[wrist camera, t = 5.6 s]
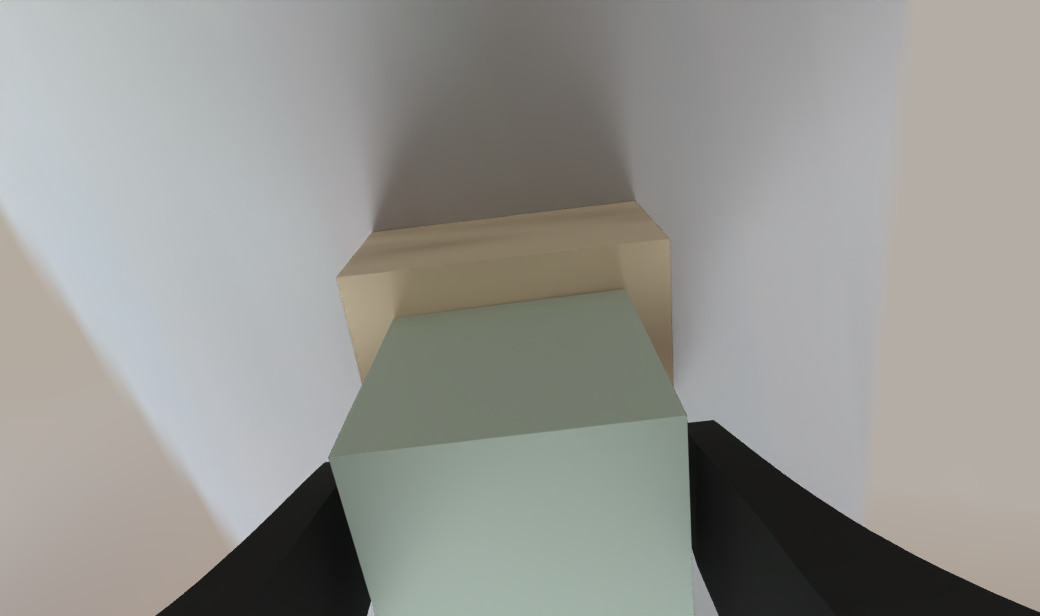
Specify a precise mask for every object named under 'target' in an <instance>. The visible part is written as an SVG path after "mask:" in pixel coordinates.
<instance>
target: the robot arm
mask: <svg viewBox="0 0 1040 616" xmlns="http://www.w3.org/2000/svg"><path fill="white" fill-rule="evenodd" d="M687 429H688V458H689V488H690V517H691V546H692V550H693V553H694V556H695V560H696V563H697V566H698V568H699V571H700V573H701V575H702V578H703V580H704V582H705V585H706V587H707V589H708V592H709V594H710V596H711V599H712V601H713V603H714V606H715V608H716V610H717V612H718V615H719V616H1040V612H1037V611H1035V610H1032V609H1030V608H1028V607H1025V606H1023V605H1021V604H1018V603H1016V602H1014V601H1011V600H1008V599H1007V598H1004V597H1002V596H1000V595H997V594H995V593H993V592H990V591H988V590H986V589H984V588H982V587H979V586H977V585H975V584H973V583H971V582H969V581H966V580H965V579H963V578H960V577H958V576H956V575H954V574H952V573H950V572H948V571H945V570H943V569H941V568H939V567H937V566H935V565H933V564H931V563H929V562H927V561H925V560H923V559H921V558H919V557H917V556H915V555H913V554H912V553H910V552H908V551H906V550H904V549H902V548H901V547H899V546H897V545H895V544H893V543H892V542H890V541H888V540H886V539H884V538H883V537H881V536H879V535H877V534H875V533H873V532H871V531H870V530H868V529H867V528H865V527H863V526H862V525H860V524H858V523H857V522H855V521H853V520H852V519H850V518H848V517H847V516H845V515H844V514H842V513H841V512H839V511H837V510H836V509H834V508H833V507H831V506H830V505H828V504H827V503H825V502H824V501H822V500H820V499H819V498H817V497H816V496H814V495H813V494H811V493H810V492H809V491H807V490H806V489H804V488H803V487H801V486H800V485H798V484H797V483H796V482H794V481H793V480H791V479H790V478H789V477H787V476H786V475H784V474H783V473H782V472H780V471H779V470H778V469H776V468H775V467H774V466H772V465H771V464H770V463H768V462H767V461H766V460H764V459H763V458H762V457H760V456H759V455H758V454H757V453H755V452H754V451H753V450H751V449H750V448H749V447H747V446H746V445H745V444H744V443H742V442H741V441H740V440H739V439H737V438H736V437H735V436H733V435H732V434H731V433H730V432H728V431H727V430H726V429H725V428H723V427H722V426H721V425H719V424H718V423H717V422H715V421H714V420H710V421H701V422H692V423H687ZM370 603H371V599H370V595H369V592H368V589H367V585H366V582H365V579H364V575H363V572H362V569H361V565H360V562H359V558H358V555H357V552H356V548H355V545H354V542H353V538H352V535H351V532H350V528H349V525H348V522H347V518H346V515H345V512H344V508H343V505H342V502H341V498H340V495H339V492H338V488H337V485H336V481H335V478H334V475H333V471H332V468H331V465H330V462H325V463H324V464H322V465H321V466H320V467H319V468H318V469H317V470H316V471H315V472H314V473H313V474H312V475H311V476H310V477H308V478H307V479H306V480H305V481H304V482H303V483H302V484H301V485H300V486H299V487H298V488H297V489H296V490H295V491H294V492H293V493H292V494H291V495H290V496H289V497H288V498H287V499H286V500H285V501H284V502H283V503H282V504H281V505H280V506H279V507H278V508H277V509H276V510H275V511H274V512H273V513H272V514H271V515H270V516H269V517H268V518H267V519H266V520H265V521H264V522H263V523H262V524H261V525H260V526H259V527H258V528H257V529H256V530H255V531H254V532H252V533H251V534H250V535H249V536H248V537H247V538H246V539H245V540H244V541H243V542H242V543H241V544H240V545H238V546H237V547H236V548H235V549H234V550H233V551H232V552H231V553H230V554H228V555H227V556H226V557H225V558H224V559H223V560H222V561H221V562H220V563H218V564H217V565H216V566H215V567H214V568H213V569H212V570H211V571H210V572H208V573H207V574H206V575H205V576H204V577H203V578H202V579H201V580H199V581H198V582H197V583H196V584H195V585H194V586H192V587H191V588H190V589H189V590H187V591H186V592H185V593H184V594H183V595H181V596H180V597H179V598H178V599H176V600H175V601H174V602H173V603H171V604H170V605H169V606H168V607H166V608H165V609H164V610H162V611H161V612H160V613H159V614H157V615H156V616H367V614H368V610H369V606H370Z"/></svg>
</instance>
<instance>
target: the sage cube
mask: <svg viewBox="0 0 1040 616" xmlns="http://www.w3.org/2000/svg"><path fill="white" fill-rule="evenodd" d="M328 458H329V461H330V465H331V468H332V471H333V475H334V478H335V481H336V485H337V488H338V492H339V495H340V498H341V502H342V505H343V508H344V512H345V515H346V518H347V522H348V525H349V528H350V532H351V535H352V538H353V542H354V545H355V548H356V552H357V555H358V558H359V562H360V565H361V569H362V572H363V575H364V579H365V582H366V585H367V589H368V592H369V595H370V599H371V602H372V605H373V609H374V612H375V615H376V616H694V604H693V575H692V546H691V517H690V488H689V458H688V429H687V414H686V412H685V410H684V408H683V406H682V404H681V402H680V400H679V398H678V396H677V394H676V392H675V390H674V388H673V385H672V383H671V381H670V379H669V377H668V375H667V373H666V371H665V369H664V367H663V365H662V363H661V361H660V359H659V357H658V355H657V353H656V350H655V348H654V346H653V344H652V342H651V340H650V338H649V336H648V334H647V332H646V330H645V328H644V326H643V324H642V322H641V320H640V317H639V315H638V313H637V311H636V309H635V307H634V305H633V303H632V301H631V299H630V297H629V295H628V293H627V291H626V289H620V290H612V291H604V292H596V293H588V294H580V295H572V296H564V297H556V298H548V299H540V300H532V301H524V302H516V303H508V304H500V305H492V306H484V307H476V308H469V309H461V310H453V311H445V312H437V313H429V314H421V315H413V316H405V317H397V318H394V319H393V321H392V323H391V325H390V327H389V329H388V331H387V334H386V336H385V338H384V340H383V342H382V344H381V346H380V348H379V351H378V353H377V355H376V357H375V359H374V361H373V363H372V365H371V367H370V370H369V372H368V374H367V376H366V378H365V380H364V382H363V384H362V387H361V389H360V391H359V393H358V395H357V397H356V399H355V401H354V404H353V406H352V408H351V410H350V412H349V414H348V416H347V418H346V421H345V423H344V425H343V427H342V429H341V431H340V433H339V435H338V438H337V440H336V442H335V444H334V446H333V448H332V450H331V452H330V455H329V457H328Z"/></svg>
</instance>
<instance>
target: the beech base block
mask: <svg viewBox="0 0 1040 616" xmlns="http://www.w3.org/2000/svg"><path fill="white" fill-rule="evenodd" d="M336 279H337V283H338V287H339V291H340V295H341V299H342V303H343V307H344V312H345V316H346V320H347V324H348V328H349V332H350V336H351V340H352V345H353V349H354V353H355V357H356V361H357V365H358V369H359V373H360V377H361V382H362V384H363V382H364V380H365V378H366V376H367V374H368V372H369V370H370V367H371V365H372V363H373V361H374V359H375V357H376V355H377V353H378V351H379V348H380V346H381V344H382V342H383V340H384V338H385V336H386V334H387V331H388V329H389V327H390V325H391V323H392V321H393V319H394V318H397V317H405V316H413V315H421V314H429V313H437V312H445V311H453V310H461V309H469V308H476V307H484V306H492V305H500V304H508V303H516V302H524V301H532V300H540V299H548V298H556V297H564V296H572V295H580V294H588V293H596V292H604V291H612V290H620V289H626V291H627V293H628V295H629V297H630V299H631V301H632V303H633V305H634V307H635V309H636V311H637V313H638V315H639V317H640V320H641V322H642V324H643V326H644V328H645V330H646V332H647V334H648V336H649V338H650V340H651V342H652V344H653V346H654V348H655V350H656V353H657V355H658V357H659V359H660V361H661V363H662V365H663V367H664V369H665V371H666V373H667V375H668V377H669V379H670V381H671V383H672V385H673V345H672V305H671V265H670V238H669V237H668V236H667V235H666V234H665V233H664V232H663V231H662V229H661V228H660V227H659V226H658V225H657V224H656V223H655V222H654V221H653V220H652V218H651V217H650V216H649V215H648V214H647V213H646V212H645V211H644V210H643V209H642V207H641V206H640V205H639V204H638V203H637V202H636V201H629V202H621V203H612V204H604V205H596V206H587V207H579V208H570V209H562V210H554V211H545V212H537V213H529V214H520V215H512V216H503V217H495V218H487V219H478V220H470V221H462V222H453V223H445V224H437V225H428V226H420V227H411V228H403V229H395V230H386V231H378V232H372V233H371V234H370V236H369V237H368V238H367V239H366V241H365V242H364V243H363V244H362V246H361V247H360V248H359V250H358V251H357V252H356V253H355V255H354V256H353V257H352V258H351V260H350V261H349V262H348V263H347V265H346V266H345V267H344V269H343V270H342V271H341V272H340V274H339V275H338V276H337V277H336ZM673 388H674V385H673Z"/></svg>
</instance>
